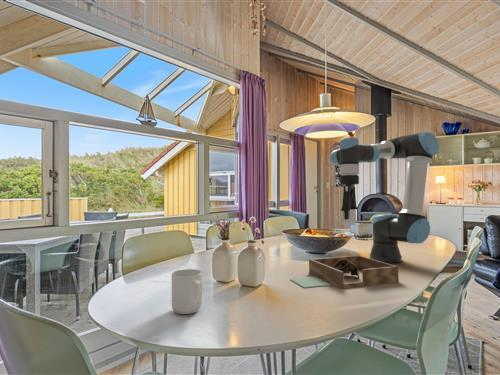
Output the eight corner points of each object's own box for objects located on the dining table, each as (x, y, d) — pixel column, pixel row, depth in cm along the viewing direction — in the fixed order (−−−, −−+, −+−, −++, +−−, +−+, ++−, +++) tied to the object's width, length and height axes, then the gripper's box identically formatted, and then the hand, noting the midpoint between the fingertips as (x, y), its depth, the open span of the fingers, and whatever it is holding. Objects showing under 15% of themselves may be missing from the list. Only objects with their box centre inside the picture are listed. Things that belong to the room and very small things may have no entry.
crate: (359, 268, 145) (358, 255, 145) (398, 281, 122) (398, 266, 122) (309, 273, 137) (309, 259, 137) (341, 288, 114) (341, 272, 114)
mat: (314, 277, 130) (314, 276, 130) (330, 285, 119) (330, 284, 119) (290, 279, 126) (290, 278, 127) (304, 288, 115) (304, 287, 115)
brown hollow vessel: (363, 281, 124) (353, 263, 123) (341, 290, 126) (331, 273, 125) (357, 267, 135) (348, 251, 135) (337, 276, 138) (328, 260, 137)
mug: (166, 309, 95) (166, 272, 95) (191, 302, 101) (191, 267, 101) (186, 320, 86) (186, 280, 87) (213, 312, 92) (213, 274, 92)
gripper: (345, 176, 143) (346, 223, 143) (333, 173, 121) (334, 228, 121) (362, 176, 140) (363, 223, 140) (353, 172, 118) (354, 229, 117)
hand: (349, 226), depth 130 cm, fingers open, 13 cm apart
